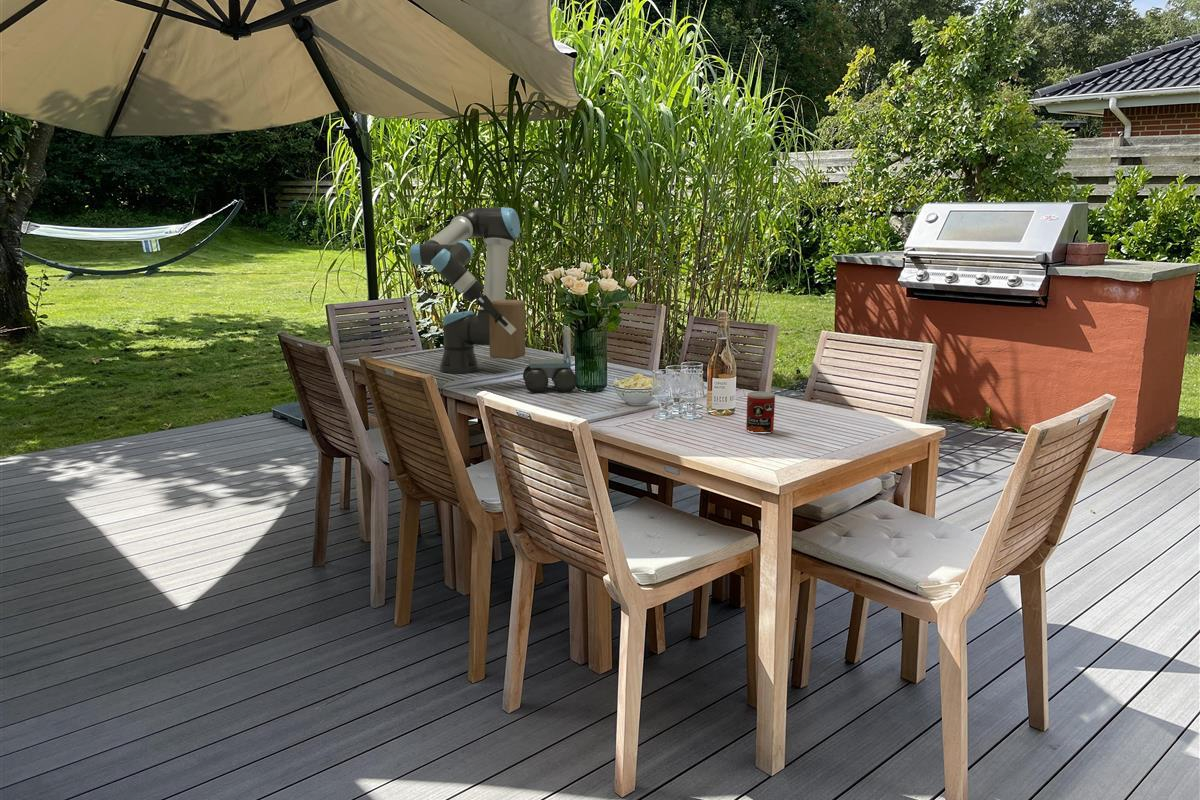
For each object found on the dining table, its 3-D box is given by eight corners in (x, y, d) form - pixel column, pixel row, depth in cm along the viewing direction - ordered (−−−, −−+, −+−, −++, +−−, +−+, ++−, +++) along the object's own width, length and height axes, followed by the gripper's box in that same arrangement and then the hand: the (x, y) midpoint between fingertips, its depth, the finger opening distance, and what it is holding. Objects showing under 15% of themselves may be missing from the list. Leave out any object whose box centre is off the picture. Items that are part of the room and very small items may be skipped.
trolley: (522, 386, 331) (522, 317, 326) (572, 385, 333) (572, 316, 328) (525, 393, 317) (524, 321, 312) (577, 392, 319) (577, 321, 314)
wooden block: (488, 358, 323) (488, 301, 319) (500, 354, 332) (500, 299, 328) (514, 359, 320) (514, 302, 316) (526, 356, 329) (526, 300, 325)
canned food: (743, 433, 260) (745, 395, 258) (749, 427, 267) (750, 390, 265) (770, 435, 257) (772, 397, 255) (775, 429, 265) (777, 392, 262)
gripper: (461, 292, 332) (504, 333, 337) (461, 297, 308) (506, 341, 313) (476, 277, 331) (518, 318, 336) (476, 281, 307) (522, 326, 312)
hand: (512, 330), depth 324 cm, fingers closed on wooden block, 13 cm apart
